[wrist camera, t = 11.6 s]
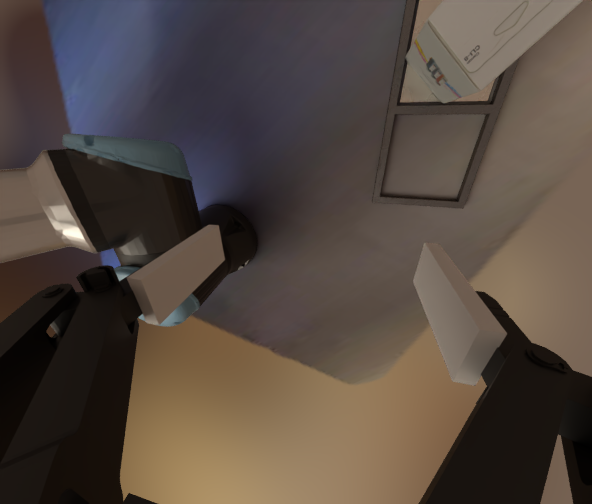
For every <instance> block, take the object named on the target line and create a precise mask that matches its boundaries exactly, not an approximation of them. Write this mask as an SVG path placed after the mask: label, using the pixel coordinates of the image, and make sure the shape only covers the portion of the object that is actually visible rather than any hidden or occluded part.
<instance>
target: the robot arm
mask: <svg viewBox="0 0 592 504" xmlns="http://www.w3.org/2000/svg"><path fill="white" fill-rule="evenodd" d="M62 144H63V146H64V147H67V149H63V150H62V149H60V150H43V151H42V153H41V154H40V155H39V156H38V158H37V159H36V160H35V162H34V163H33V164H32V165H31V166H29V167H28V168H19V169H9V170H8V169H7V170H0V263H2V262H6V261H10V260H14V259H19V258H22V257H27V256H30V255H35V254H39V253H43V252H47V251H51V250H55V249H59V248H63V247H67V246H71V247H77V248H80V249H83V250H86V251H90V252H93V253H97V252H101V251H105V250H109V249H112V248H113V249H114V251H115V253H116V255H117V257H118V259H119V261H120V264H121V266H119V267H116V268H115V269H114V268H113V267H112V266H98V267H94V268H91V269H88V270H86V271H84V272H82V273H80V274H79V275H78V276H77V279H78V281H79V283H80V285H81V286H82V288H83V290H84V292H75V290H74V289H73V287H72V285H71V284H60V285H53V286H52V287H51V286H50V287H47V288H46V289H44V290H42V291H40V292H39V293H37V294H36V295H34V296H33V297H32V298H30V299H29V300H28V301H27V302H26V303H24V304H23V305H22V306H21V307H20V308H18V309H17V310H16V311H15V312H13V313H12V314H11V315H10V316H8V317H7V318H6V319H5V320H4V321H3V322H1V323H0V504H157V503H154V502H151V501H149V500H146V499H143V498H141V497H138V496H136V495H133V494H130V493H129V494H128V495H127V497H126V499H125V500H124V502H123V494H122V489H121V485H120V468H121V460H122V453H123V445H124V437H125V428H126V422H127V414H128V406H129V398H130V390H131V383H132V375H133V367H134V359H135V351H136V343H137V336H138V328H139V323H138V320H137V318H140V319H142V320H144V321H146V323H150V324H155V325H159V326H175V325H178V324H180V323H182V322H184V321H185V320H186V319H187V318H188V317H189V316H190V315H191V314H192V313H193V312H195V311H196V310H198V309H199V307H200V306H201V305H202V303H203V302H204V301H205V300H206V299H207V298H208V296H209V295H210V294H211V293H212V292H213V291H214V289H215V288H216V287H217V286H218V285H219V284H220V283H221V281H222V280H223V279H224V278H225V277H226V276H227V275H228V274H230V273H233V272H235V271H237V270H239V269H242V268H243V267H245V266H246V265H247V264H248V263H249V262H250V261H251V259H252V258H253V257H254V255H255V253H256V249H257V238H256V234H255V231H254V229H253V227H252V225H251V224H250V222H249V221H248V220H247V219H246V218H245V217H244V216H243V215H242V214H241V213H240V212H238V211H237V210H235V209H233V208H231V207H228V206H224V205H212V206H209V207H206V208H204V209H202V210H201V211H198V207H197V203H196V198H195V194H194V190H193V186H192V181H191V180H192V177H191V176H190V174H189V171H188V167H187V164H186V161H185V157H184V155H183V153H182V151H181V150H180V149H179V148H178V147H177V146H176V145H174V144H172V143H169V142H163V141H155V140H145V139H134V138H123V137H110V136H94V135H81V134H65V135H64V136H63V142H62ZM413 283H414V285H415V288H416V290H417V293H418V295H419V298H420V300H421V303H422V305H423V308H424V310H425V313H426V316H427V318H428V321H429V323H430V326H431V328H432V331H433V333H434V336H435V338H436V341H437V343H438V346H439V348H440V351H441V353H442V356H443V358H444V361H445V364H446V366H447V369H448V371H449V374H450V376H451V379H452V381H454V382H459V383H464V384H469V385H474V386H475V385H476V383H477V382H478V380H479V379H480V377H481V375H482V377H483V379H484V381H485V383H486V385H487V387H486V389H485V390H484V392H483V393H482V395H481V396H480V398H479V399H478V401H477V402H476V406H475V407H474V409H473V411H472V413H471V414H470V416H469V418H468V420H467V421H466V423H465V425H464V427H463V428H462V430H461V432H460V433H459V435H458V437H457V438H456V440H455V442H454V444H453V445H452V447H451V449H450V451H449V452H448V454H447V456H446V458H445V459H444V461H443V463H442V465H441V466H440V468H439V470H438V471H437V473H436V475H435V477H434V478H433V480H432V482H431V483H430V485H429V487H428V489H427V490H426V492H425V494H424V495H423V497H422V499H421V501H420V502H419V504H540V502H541V498H542V494H543V490H544V486H545V483H546V479H547V475H548V471H549V467H550V463H551V459H552V455H553V451H554V447H555V443H556V439H557V436H558V434H559V435H561V439H562V444H563V449H564V455H565V460H566V466H567V471H568V477H569V482H570V488H571V493H572V499H573V504H592V377H590V376H588V375H585V374H582V373H579V372H576V371H573V370H572V369H571V367H570V366H569V365H568V364H567V362H566V361H564V360H563V359H562V358H561V357H560V356H558V355H557V354H555V353H554V352H552V351H550V350H548V349H547V348H545V347H542V346H539V345H537V344H534V343H531V341H530V340H529V339H528V338H527V337H526V336H525V334H524V333H523V332H522V331H521V330H520V329H519V327H518V326H517V325H516V324H515V322H514V321H513V320H512V319H511V318H509V315H508V314H507V313H506V312H505V311H504V310H503V308H502V307H501V306H500V305H499V303H498V302H497V301H496V300H495V299H493V298H492V297H490V296H489V295H488V294H486V293H485V292H478V291H475V290H474V289H473V288H472V286H471V285H470V284H469V283H468V281H467V280H466V279H465V277H464V276H463V275H462V273H461V272H460V271H459V269H458V268H457V267H456V265H455V264H454V263H453V261H452V260H451V259H450V257H449V256H448V255H447V254H446V252H445V251H444V250H443V248H442V247H441V246H440V244H436V243H424V246H423V249H422V253H421V256H420V260H419V263H418V266H417V270H416V273H415V277H414V280H413ZM49 325H51V327H52V328H53V330H54V331H55V332H56V334H55V335H54V336H53V337H52V338H51V337H49V335H48V334H47V333H46V330H47V329H48V327H49Z"/></svg>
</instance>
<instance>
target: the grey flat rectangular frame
mask: <svg viewBox="0 0 592 504" xmlns="http://www.w3.org/2000/svg"><path fill="white" fill-rule="evenodd" d="M442 1H443V0H419V4H418V9H417V15H416V20H415V25H414V30H413V36H412V41H411V46H412V45H413V43H414V41H415V40H416V38H417V36H418V34H419V33H420V31H421V29H422V28H423V26H424V24H425V22H426V21H427V19H428V18H429V16H430V15H431V14H432V13H433V11H434V10H435V9H436V8H437V7H438V5H439V4H440V3H441V2H442ZM415 3H416V0H406V5H405V11H404V17H403V23H402V28H401V34H400V40H399V46H398V52H397V58H396V64H395V69H394V75H393V81H392V87H391V93H390V99H389V105H388V111H387V116H386V122H385V128H384V134H383V140H382V146H381V152H380V157H379V163H378V169H377V175H376V181H375V187H374V193H373V198H372V202H375V203H390V204H404V205H419V206H433V207H448V208H462V209H463V208H464V205H465V203H466V200H467V197H468V195H469V192H470V189H471V187H472V184H473V181H474V179H475V176H476V173H477V171H478V168H479V165H480V162H481V160H482V157H483V154H484V152H485V149H486V146H487V144H488V141H489V138H490V136H491V133H492V130H493V128H494V125H495V122H496V120H497V117H498V114H499V112H500V109H501V106H502V103H503V101H504V98H505V95H506V93H507V90H508V87H509V85H510V82H511V79H512V77H513V74H514V71H515V69H516V66H517V63H518V61H519V58H520V57H519V58H518V59H517V60H516V61H515V62H514V63H512V64H511V65H510V66H509V67H508V68H507V69H506V70H505V71H503V72H502V73H501V74H500V77H499V80H498V82H497V85H496V88H495V91H494V94H493V97H492V100H491V102H490V105H428V106H397V100H398V95H399V89H400V84H401V78H402V73H403V68H404V62H405V57H406V51H407V46H408V41H409V35H410V30H411V24H412V19H413V14H414V8H415ZM411 46H410V48H411ZM494 81H495V79H494V80H493V81H492V82H491V83H490V84H489V85H488V86H486V87H485V88H484V89H483V90H482V91H480V92H477V93H474V94H471V95H468V96H465V97H462V98H459V99H456V100H453V101H450V102H457V101H488V98H489V95H490V92H491V89H492V86H493V83H494ZM400 102H441V101H440V100H439V99H438V98H437V97H436V96H435V95H434V93H433V92H432V91H431V90H430V89H429V88H428V86H427V85H426V84H425V83H424V82H423V80H422V79H421V78H420V77H419V75H418V74H417V73H416V72H415V71H414V69H413V68H412V67H411V66H410V64H409V63H408V62H407V67H406V72H405V78H404V83H403V88H402V93H401V99H400ZM410 114H486V117H485V120H484V122H483V125H482V128H481V131H480V134H479V137H478V139H477V142H476V145H475V148H474V151H473V154H472V157H471V159H470V162H469V165H468V168H467V171H466V174H465V177H464V179H463V182H462V185H461V188H460V191H459V194H458V197H457V199H456V200H443V199H427V198H411V197H395V196H380V192H381V187H382V181H383V176H384V170H385V165H386V160H387V154H388V149H389V143H390V138H391V133H392V127H393V122H394V116H395V115H410Z"/></svg>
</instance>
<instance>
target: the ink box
mask: <svg viewBox="0 0 592 504" xmlns="http://www.w3.org/2000/svg"><path fill="white" fill-rule="evenodd" d="M582 1H583V0H443V1H442V2H441V3H440V4H439V5H438V7H437V8H436V9H435V10H434V11H433V13H432V14H431V15H430V16H429V18H428V19H427V21H426V22H425V24H424V26H423V28H422V29H421V31H420V33H419V34H418V36H417V38H416V40H415V41H414V43H413V45H412V46H411V48H410V50H409V51H408V53H407V55H406V57H405V59H406V60H407V62H408V63H409V64H410V66H411V67H412V68H413V69H414V71H415V72H416V73H417V74H418V75H419V77H420V78H421V79H422V80H423V82H424V83H425V84H426V85H427V86H428V88H429V89H430V90H431V91H432V92H433V93H434V95H435V96H436V97H437V98H438V99H439V100H440V101H441V102H442V103H443V104H445V103H448V102H450V101H453V100H456V99H459V98H462V97H465V96H468V95H471V94H474V93H477V92H480V91H482V90H483V89H484V88H485V87H486V86H488V85H489V84H490V83H491V82H492V81H493V80H494V79H495V78H497V77H498V76H499V75H500V74H501V73H502V72H503V71H505V70H506V69H507V68H508V67H509V66H510V65H511V64H512V63H514V62H515V61H516V60H517V59H518V58H519V57H520V56H521V55H523V54H524V53H525V52H526V51H527V50H528V49H529V48H530V47H532V46H533V45H534V44H535V43H536V42H537V41H538V40H539V39H541V38H542V37H543V36H544V35H545V34H546V33H547V32H549V31H550V30H551V29H552V28H553V27H554V26H555V25H556V24H558V23H559V22H560V21H561V20H562V19H563V18H564V17H565V16H567V15H568V14H569V13H570V12H571V11H572V10H573V9H574V8H575V7H577V6H578V5H579V4H580V3H581V2H582Z"/></svg>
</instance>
